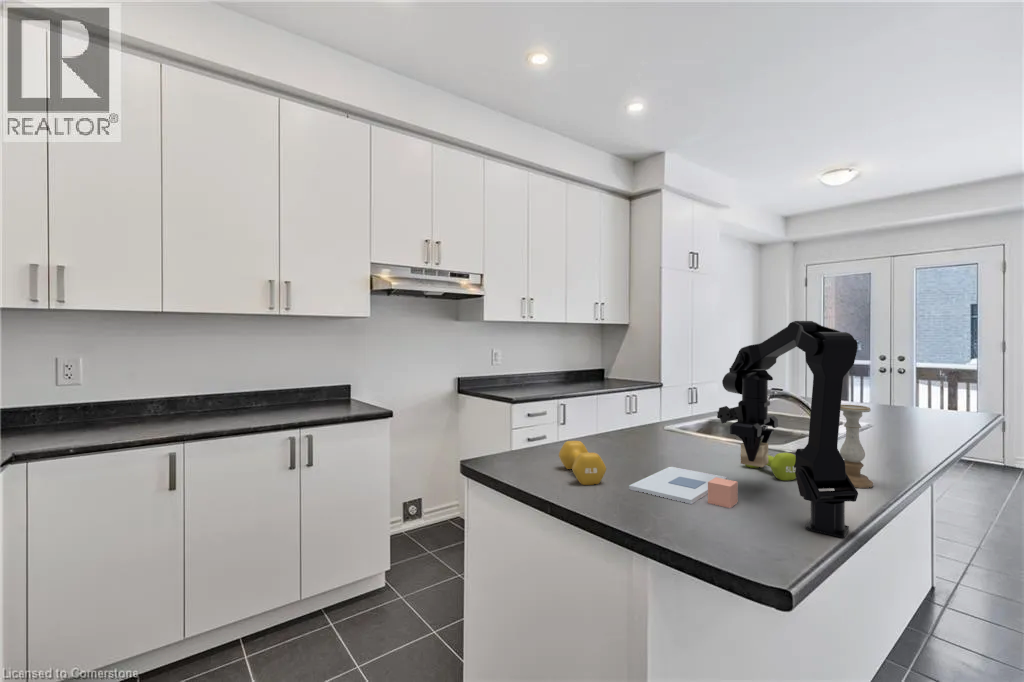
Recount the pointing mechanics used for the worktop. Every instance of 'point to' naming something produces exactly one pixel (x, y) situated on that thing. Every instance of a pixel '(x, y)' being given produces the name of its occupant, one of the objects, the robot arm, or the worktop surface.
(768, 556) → the worktop surface
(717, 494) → the coral block
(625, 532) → the worktop surface
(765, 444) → the maple block
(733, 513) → the worktop surface
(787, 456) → the dumbbell
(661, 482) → the blueprint board
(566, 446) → the dumbbell
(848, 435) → the candle holder
